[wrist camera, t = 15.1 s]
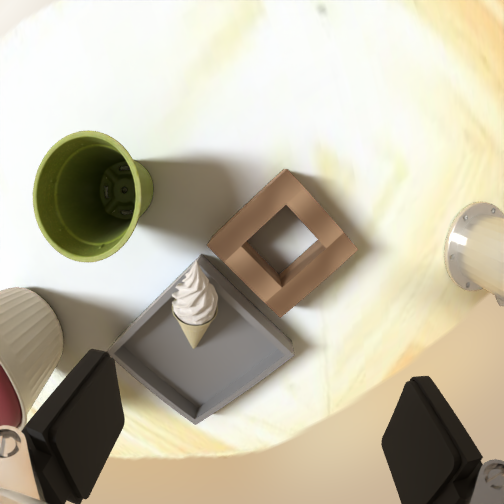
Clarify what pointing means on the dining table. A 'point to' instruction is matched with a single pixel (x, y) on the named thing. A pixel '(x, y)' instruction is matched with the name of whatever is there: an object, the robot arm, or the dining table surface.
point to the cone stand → (304, 267)
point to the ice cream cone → (195, 304)
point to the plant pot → (89, 196)
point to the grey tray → (202, 350)
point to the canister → (25, 352)
